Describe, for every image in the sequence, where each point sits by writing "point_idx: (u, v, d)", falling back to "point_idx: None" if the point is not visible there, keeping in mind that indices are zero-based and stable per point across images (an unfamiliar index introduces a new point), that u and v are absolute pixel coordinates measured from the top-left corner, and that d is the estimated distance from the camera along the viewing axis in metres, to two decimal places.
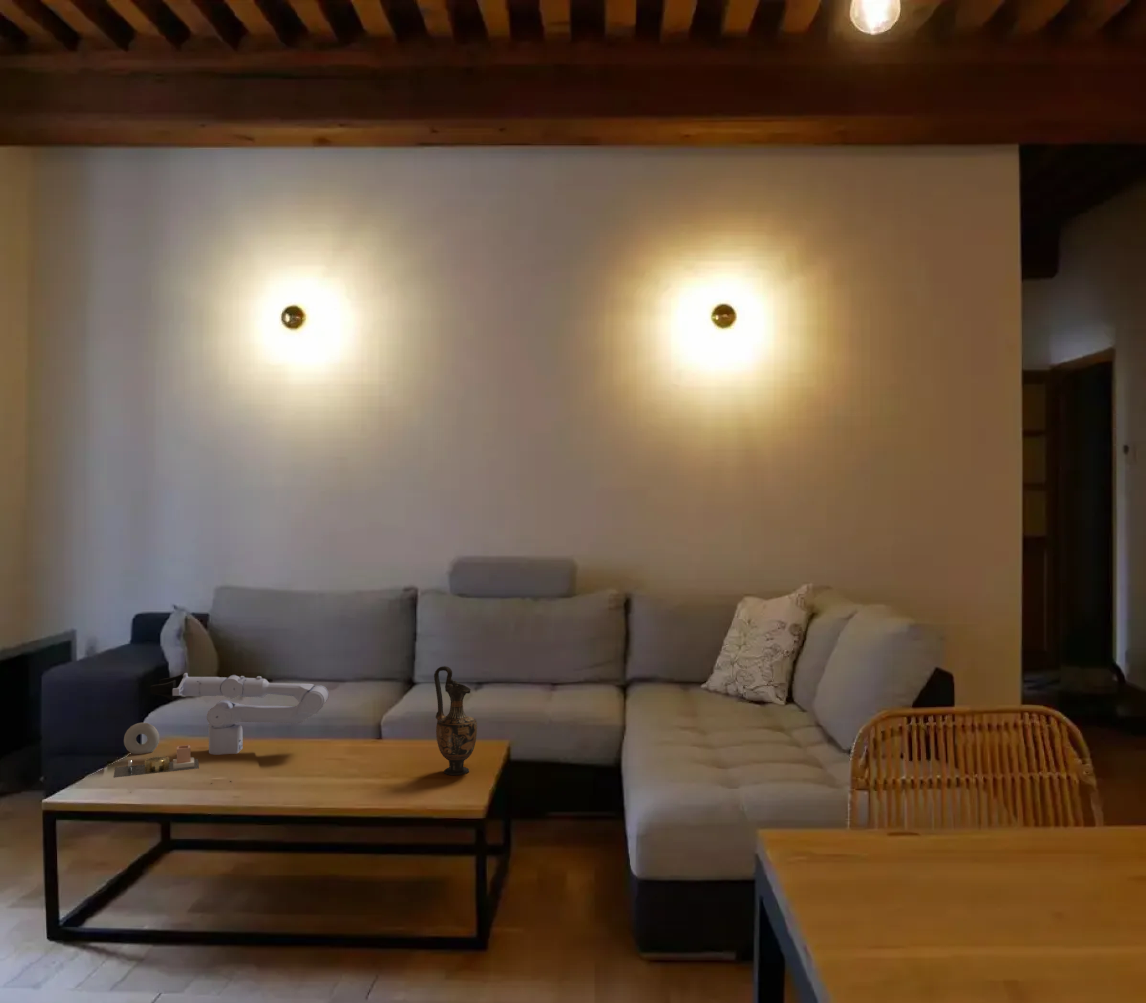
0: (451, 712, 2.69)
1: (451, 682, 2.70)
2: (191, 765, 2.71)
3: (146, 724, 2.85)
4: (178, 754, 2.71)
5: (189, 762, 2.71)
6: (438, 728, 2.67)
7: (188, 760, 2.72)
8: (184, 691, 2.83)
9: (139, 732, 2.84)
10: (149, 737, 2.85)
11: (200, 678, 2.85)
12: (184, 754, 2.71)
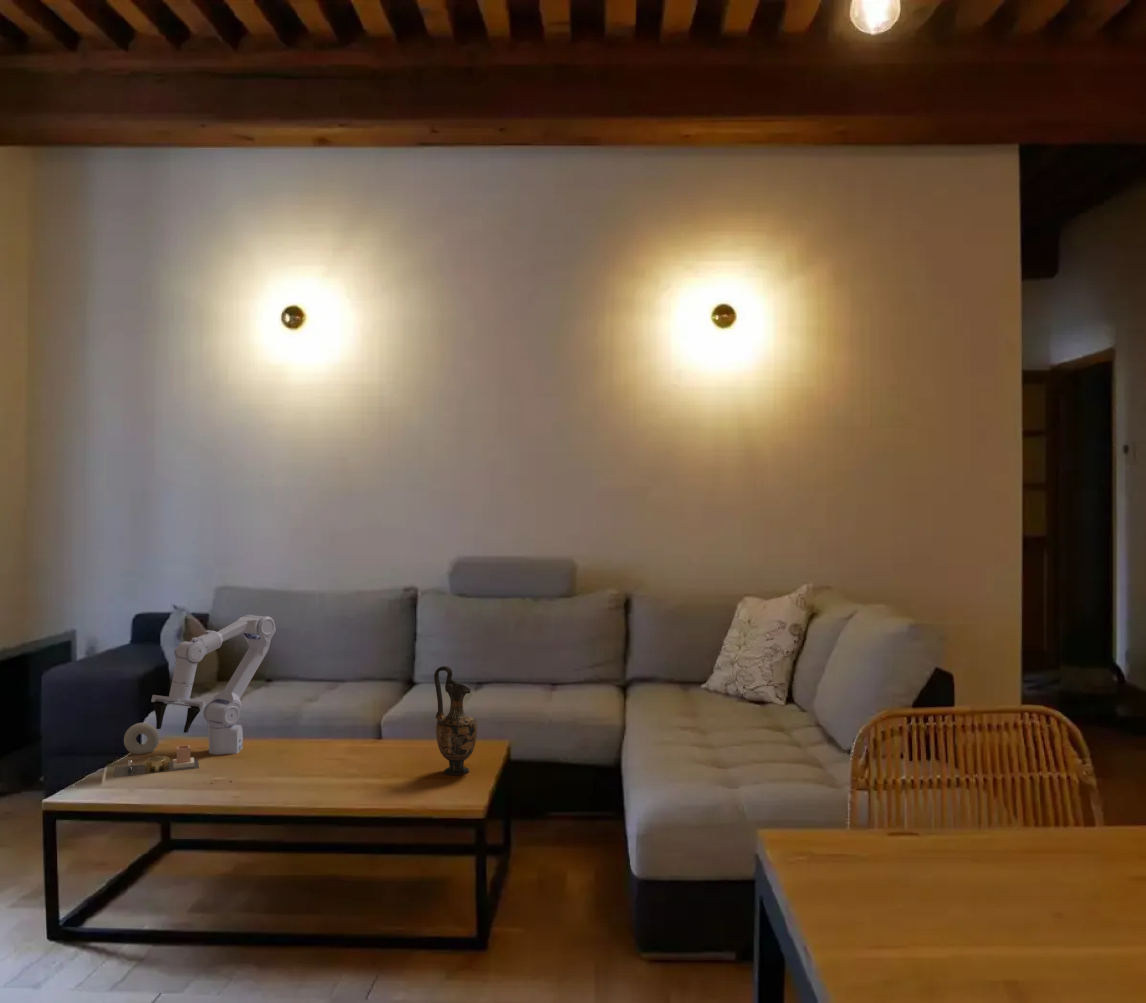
0: (451, 712, 2.69)
1: (451, 682, 2.70)
2: (191, 765, 2.71)
3: (146, 724, 2.85)
4: (178, 754, 2.71)
5: (189, 762, 2.71)
6: (438, 728, 2.67)
7: (188, 760, 2.72)
8: (189, 699, 2.76)
9: (139, 732, 2.84)
10: (149, 737, 2.85)
11: (183, 684, 2.73)
12: (184, 754, 2.71)
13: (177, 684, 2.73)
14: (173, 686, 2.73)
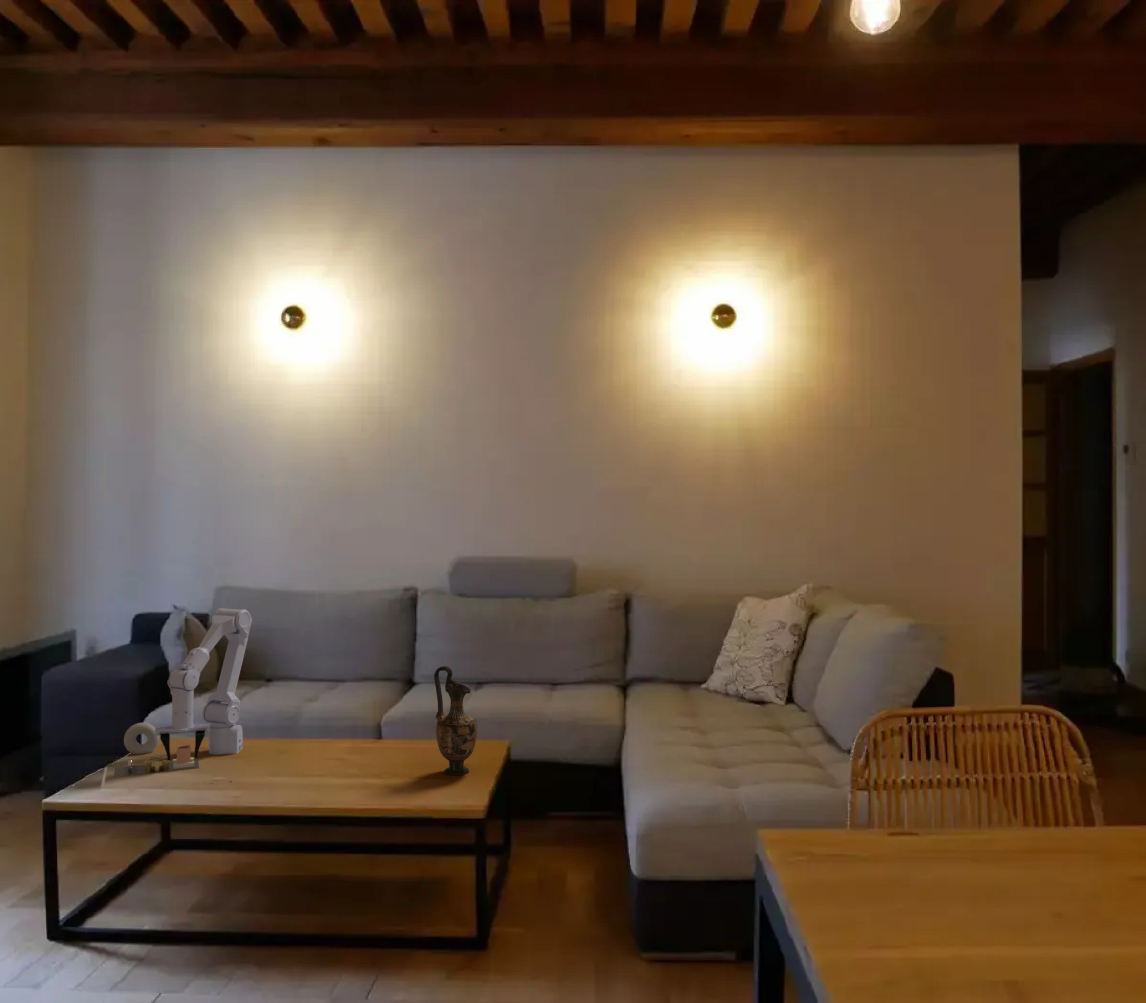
0: (451, 712, 2.69)
1: (451, 682, 2.70)
2: (191, 765, 2.71)
3: (146, 724, 2.85)
4: (178, 754, 2.71)
5: (189, 762, 2.71)
6: (438, 728, 2.67)
7: (188, 760, 2.72)
8: None
9: (139, 732, 2.84)
10: (149, 737, 2.85)
11: (186, 713, 2.71)
12: (184, 754, 2.71)
13: (180, 715, 2.70)
14: (176, 717, 2.70)
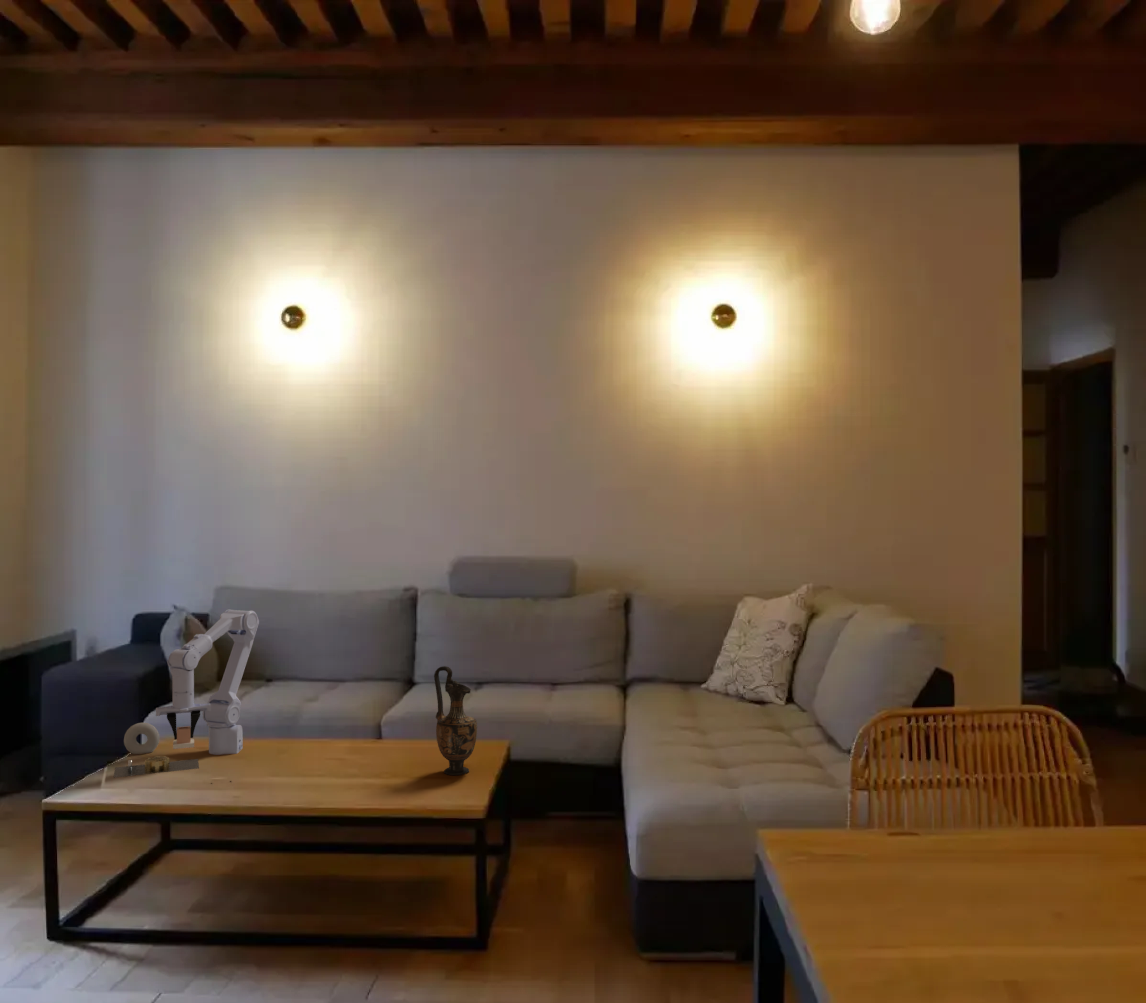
0: (451, 712, 2.69)
1: (451, 682, 2.70)
2: (191, 746, 2.71)
3: (146, 724, 2.85)
4: (178, 734, 2.71)
5: (189, 743, 2.72)
6: (438, 728, 2.67)
7: (188, 741, 2.72)
8: None
9: (139, 732, 2.84)
10: (149, 737, 2.85)
11: (186, 693, 2.70)
12: (184, 734, 2.72)
13: (181, 694, 2.70)
14: (177, 697, 2.70)
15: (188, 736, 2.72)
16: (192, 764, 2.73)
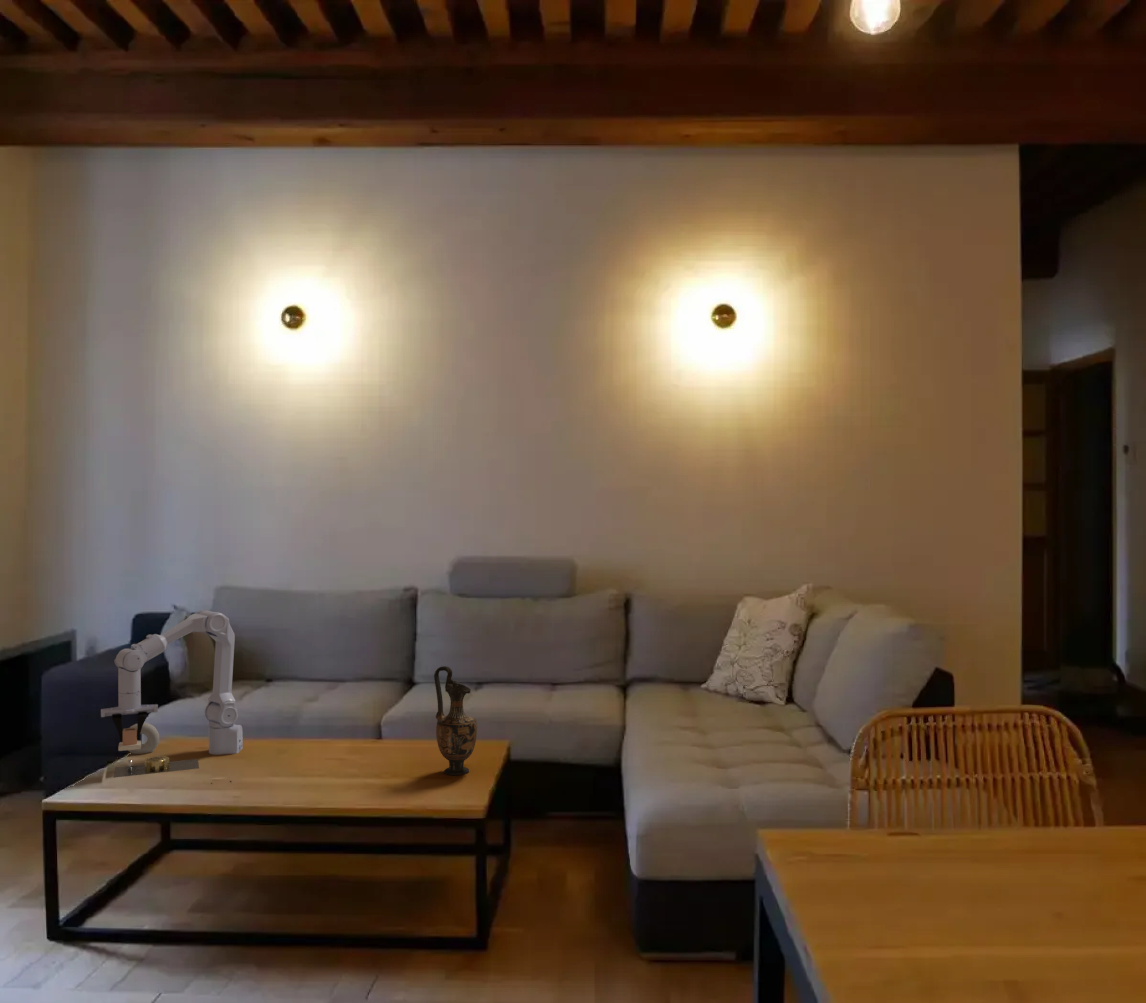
0: (451, 712, 2.69)
1: (451, 682, 2.70)
2: (137, 747, 2.66)
3: (146, 724, 2.85)
4: (124, 736, 2.65)
5: (135, 744, 2.66)
6: (438, 728, 2.67)
7: (134, 742, 2.66)
8: None
9: None
10: (149, 737, 2.85)
11: (132, 693, 2.65)
12: (130, 736, 2.66)
13: (127, 695, 2.64)
14: (122, 698, 2.64)
15: (134, 738, 2.66)
16: (192, 764, 2.73)
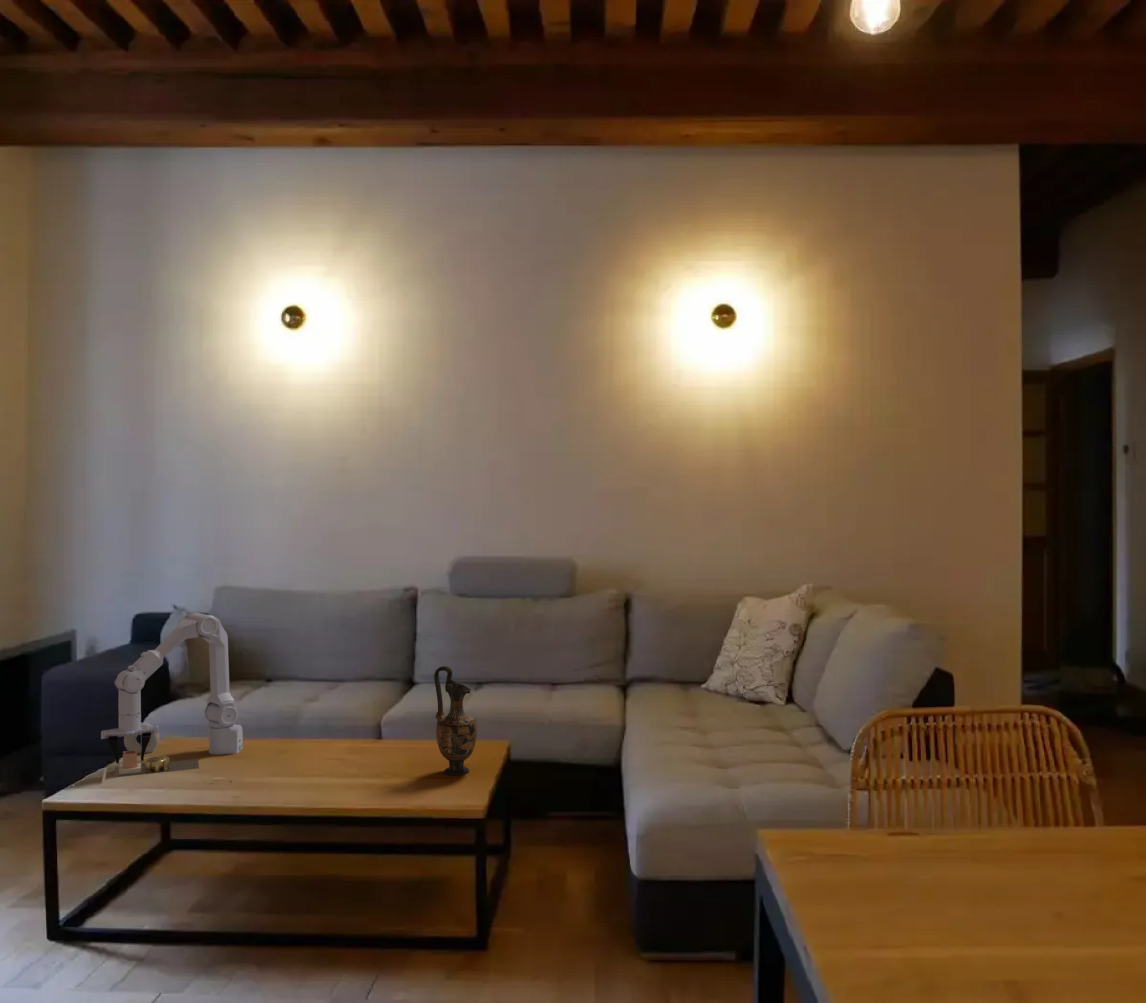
0: (451, 712, 2.69)
1: (451, 682, 2.70)
2: (137, 771, 2.66)
3: (146, 724, 2.85)
4: (124, 759, 2.65)
5: (135, 768, 2.66)
6: (438, 728, 2.67)
7: (134, 766, 2.66)
8: None
9: None
10: None
11: (133, 715, 2.65)
12: (130, 759, 2.66)
13: (127, 717, 2.64)
14: (122, 719, 2.64)
15: (134, 761, 2.66)
16: (192, 764, 2.73)
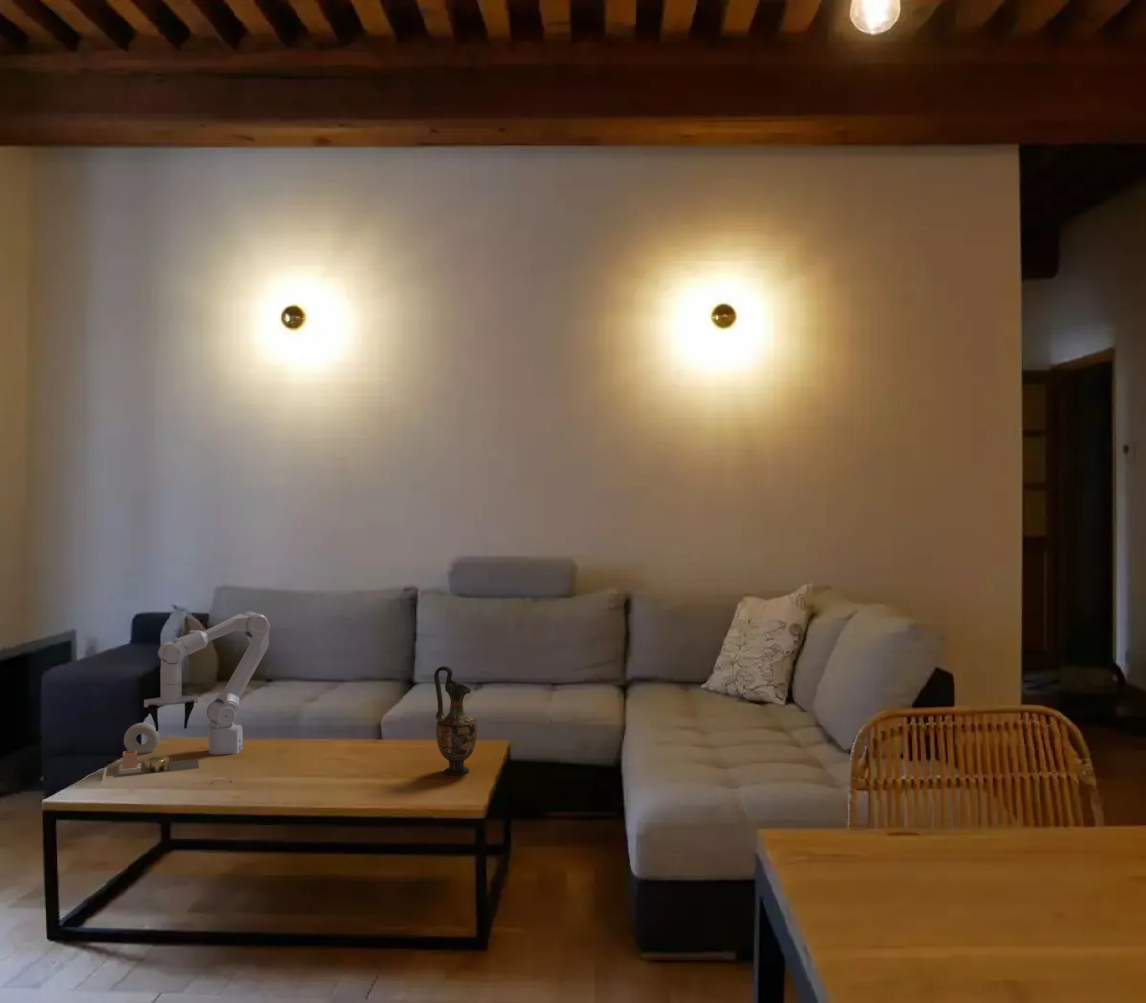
0: (451, 712, 2.69)
1: (451, 682, 2.70)
2: (137, 771, 2.66)
3: (146, 724, 2.85)
4: (124, 759, 2.65)
5: (135, 768, 2.66)
6: (438, 728, 2.67)
7: (134, 766, 2.66)
8: None
9: (139, 732, 2.84)
10: (149, 737, 2.85)
11: (174, 685, 2.76)
12: (130, 759, 2.66)
13: (169, 686, 2.76)
14: (164, 689, 2.76)
15: (134, 761, 2.66)
16: (192, 764, 2.73)
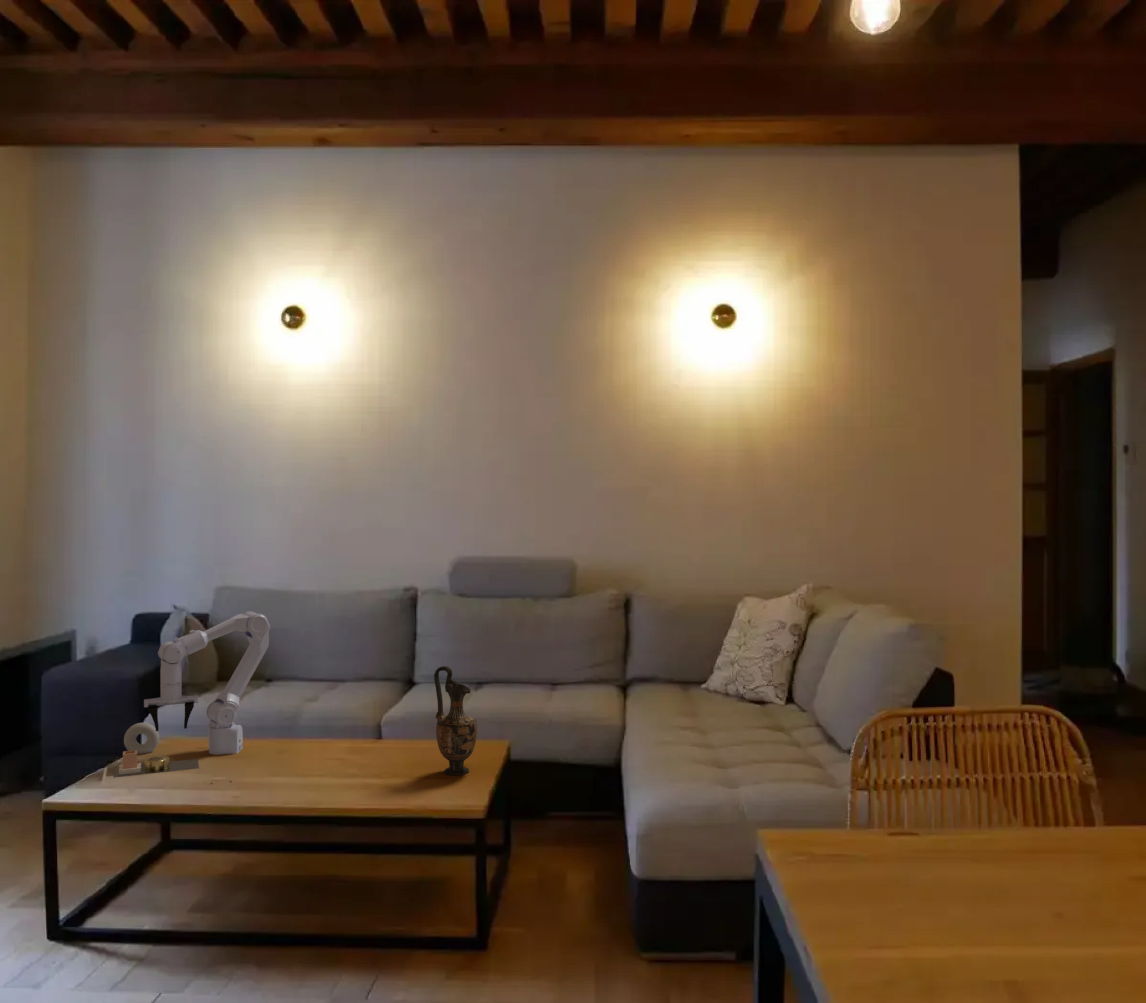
0: (451, 712, 2.69)
1: (451, 682, 2.70)
2: (137, 771, 2.66)
3: (146, 724, 2.85)
4: (124, 759, 2.65)
5: (135, 768, 2.66)
6: (438, 728, 2.67)
7: (134, 766, 2.66)
8: None
9: (139, 732, 2.84)
10: (149, 737, 2.85)
11: (174, 685, 2.76)
12: (130, 759, 2.66)
13: (169, 686, 2.76)
14: (164, 689, 2.76)
15: (134, 761, 2.66)
16: (192, 764, 2.73)
